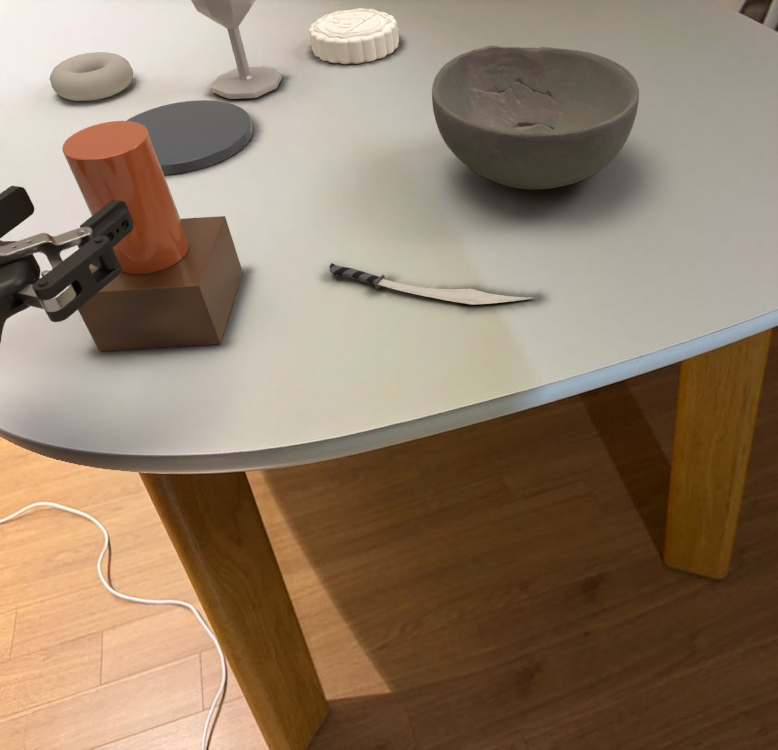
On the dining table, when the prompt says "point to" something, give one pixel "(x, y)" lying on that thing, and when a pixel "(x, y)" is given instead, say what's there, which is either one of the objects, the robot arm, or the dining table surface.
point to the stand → (171, 296)
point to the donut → (91, 76)
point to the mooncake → (354, 36)
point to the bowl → (534, 113)
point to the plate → (195, 133)
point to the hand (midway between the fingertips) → (74, 204)
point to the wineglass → (237, 52)
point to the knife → (444, 294)
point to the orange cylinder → (129, 191)
